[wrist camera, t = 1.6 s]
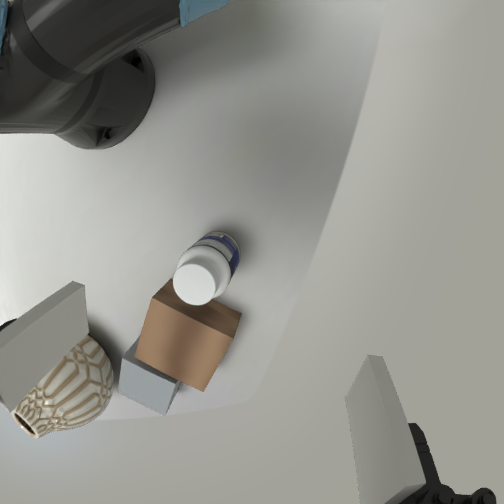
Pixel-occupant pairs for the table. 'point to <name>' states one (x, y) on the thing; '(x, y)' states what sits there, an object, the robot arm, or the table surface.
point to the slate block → (146, 383)
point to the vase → (68, 392)
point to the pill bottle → (206, 268)
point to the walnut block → (186, 337)
